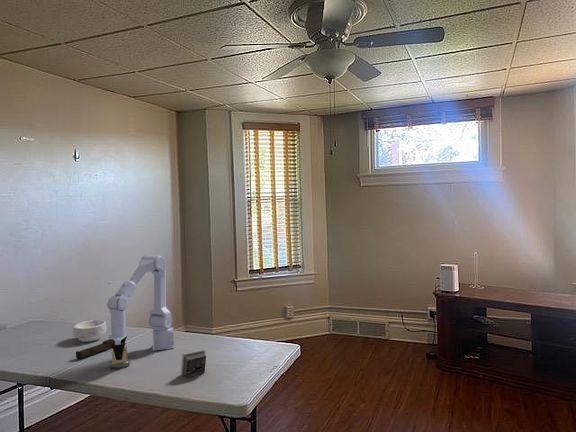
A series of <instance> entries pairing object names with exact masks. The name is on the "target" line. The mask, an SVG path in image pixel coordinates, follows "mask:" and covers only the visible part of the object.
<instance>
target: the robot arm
mask: <svg viewBox="0 0 576 432" xmlns="http://www.w3.org/2000/svg"><path fill="white" fill-rule="evenodd" d="M166 263H167V261H166V258H164V257H163V256H162V255H147V254H144V255H143V256H142V257H141V258H140V259H139V261H138V266H137V268H136V269H135V271H134V273H133V274H132V275H131V277H130V279H128V280H125V281H123V282H122V284H121V286H120V288H119V289H118V290H117V291H116V293H115V294H114V295H112V296H111V297H110V298H108V300H107V303H106V306H107V309H109V310H108V311H109V313H110V327H111V328H110V331H111V334H109V335H108V339H113V340H114V342H115V343H111V347H112V349H111V350H113V351H114V354H115V358H116V360H122V356H123V349H124V347H126V344H127V342H126V340H127V338H128V335H127V322H126V321H127V320H126V319H127V318H126V309H127V308H128V306H129V302H130V299H131V297H132V296H133V294H134V293H135V291H136V290H137V284H139V282H140V281H141V280H142V278H144V276H145V275H146V274H147V273H151V274H153V277H154V278H153V309H152V310H151V311H150V312H149V318H148V325H149V327H151V330H152V343H153V344H152V351H153V352H155V351H161V350H170V349H175V337H174V327H172V325H173V317H172V312H171V311H170V309H168V307H167V268H166V267H167V265H166Z"/></svg>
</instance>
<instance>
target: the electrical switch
mask: <svg viewBox="0 0 576 432" xmlns="http://www.w3.org/2000/svg"><path fill="white" fill-rule="evenodd" d="M206 361H207V355H206V350H205V349H204V348H203V349H198V350H193V351H189V352H184V353H183V354H182V355H181V368H180V369H181V370H180V373H181V375H182V376H183V375H184V376H185V377H186V378H187V377H189V378H190V377H193V376H197V375H201V374H204V373H205V371H206Z"/></svg>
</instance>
